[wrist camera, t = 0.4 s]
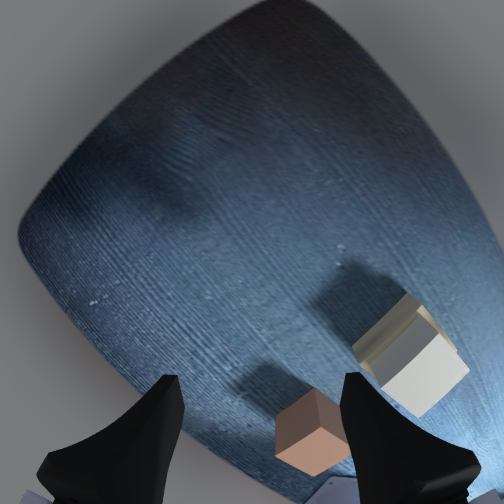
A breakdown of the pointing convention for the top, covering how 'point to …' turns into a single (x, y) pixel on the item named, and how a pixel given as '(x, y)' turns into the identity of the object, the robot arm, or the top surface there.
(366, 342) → the tower base slab
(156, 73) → the top surface
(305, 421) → the terracotta block
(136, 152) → the top surface
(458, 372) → the tower top slab
